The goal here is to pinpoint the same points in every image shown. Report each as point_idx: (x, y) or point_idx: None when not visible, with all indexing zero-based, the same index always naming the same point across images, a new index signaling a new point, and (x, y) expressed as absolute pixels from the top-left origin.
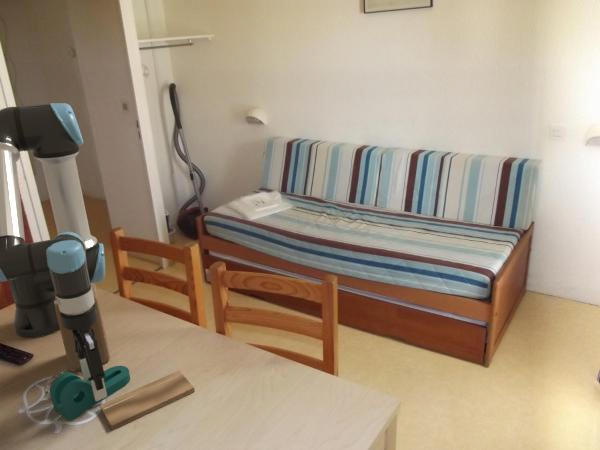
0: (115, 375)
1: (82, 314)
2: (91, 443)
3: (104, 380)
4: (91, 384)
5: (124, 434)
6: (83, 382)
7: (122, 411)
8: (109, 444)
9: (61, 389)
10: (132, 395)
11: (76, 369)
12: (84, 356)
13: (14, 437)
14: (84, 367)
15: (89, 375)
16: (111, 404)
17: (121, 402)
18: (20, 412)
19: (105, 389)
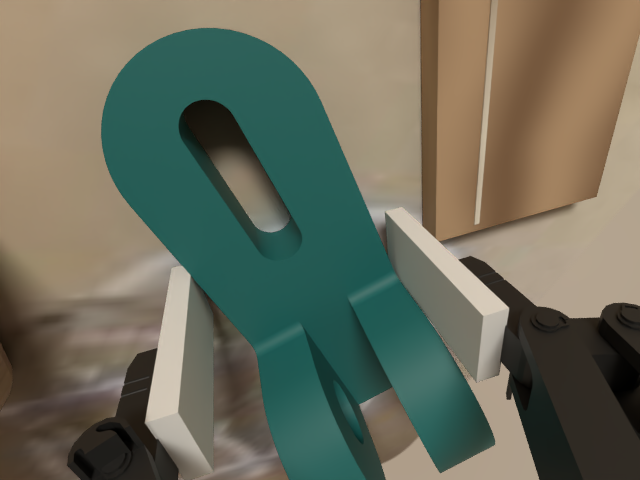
0: (193, 142)
1: None
2: (572, 259)
3: (242, 219)
4: (443, 335)
5: (632, 143)
6: (476, 400)
7: (556, 140)
8: (626, 202)
9: (368, 451)
10: (480, 60)
11: (6, 363)
12: (166, 474)
13: (382, 451)
14: (207, 394)
15: (201, 319)
16: (468, 188)
17: (490, 136)
18: (267, 471)
19: (427, 233)
